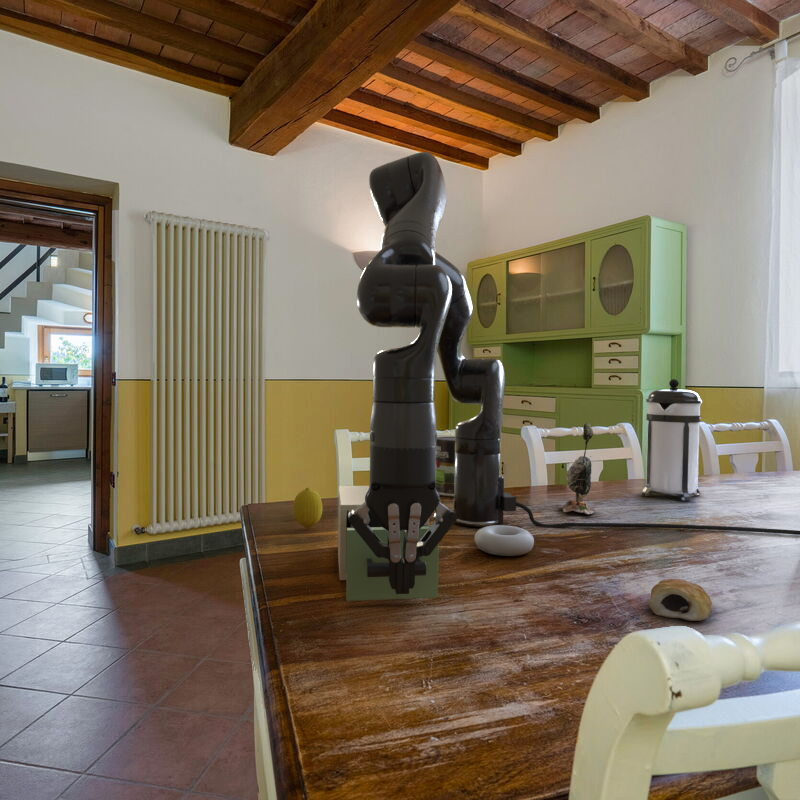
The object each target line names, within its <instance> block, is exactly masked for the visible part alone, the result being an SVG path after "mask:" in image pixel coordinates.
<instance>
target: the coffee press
mask: <svg viewBox="0 0 800 800" xmlns="http://www.w3.org/2000/svg"><path fill="white" fill-rule="evenodd" d="M668 385H669V386H670V388H668V389H663V388H662V389H656V390H652V391H651V392H650V393H649V394H648V396H647V398H646V400H645V402H646V404H647V413H646V419H645V420H646V423H647V424H646V456H645V457H646V460H645V486H644V487H643V489H642V490H641V495H642V496H644V497H649V496H651V495H652V494H653V493H661V494H669V495H677V496H679V497H680V499H681V501H682V502H683V503H684V502H685V503H686V502H688V503H689V502H690V501H691V496H690V494H691V495H692V496H693V497H698V498H699V497H700V496H701V492H700V490H699V488H698V487H699V486H698V485H699V483H698V482H699V454H700V453H699V452H700V451H699V449H700V423H701V422H702V421H701V420H702V419H701V418H702V416H701V405H702V404H703V399H701V397H700V395H699V394H698V393H697V392H695V391H693V390H690V389H679V388H678V386H679V385H680V382H679V381H678V380H677V379H675V378H673V379H671V380H669V383H668ZM648 490H649V491H648ZM647 491H648V492H647ZM646 492H647V493H646ZM695 493H696V494H695Z"/></svg>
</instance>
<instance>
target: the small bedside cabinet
mask: <svg viewBox="0 0 800 800" xmlns="http://www.w3.org/2000/svg"><path fill="white" fill-rule="evenodd" d="M369 486H370V485H338V486H337V487H338V496H337V498H338V501H337V505H338V506H337V508H338V509H337V558H338V573H339V581H346V564H347V528H349V519H348V513H349V511H350V510H353V509H354V510H355V509H357V508H358V507H359V506H360V505H362V504H363V503H364V502H365V496H366V493H367V492H368V490H369ZM426 522H427V524H428V525H429V526H430V518H429V519H428V520H427V521H426Z"/></svg>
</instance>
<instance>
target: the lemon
mask: <svg viewBox="0 0 800 800" xmlns="http://www.w3.org/2000/svg"><path fill="white" fill-rule="evenodd" d="M292 513H293V514H292V515H293V517H294V520H295V521H296V522H297V524H298V525H300V526H301V527H303V528H304V529H306V530H310V529H311V528H312V527H313V526H315V525H316V524H318V523H319V522H320V519H321V518H322V515H323V502H322V499H321V496H320V494H319V493H318V492H317V491H315V490H313V489H311V488H310V487H306V488H305V489H303V490H301V491H300V492H298V493H297V494H296V496H295V497H294V501H293V506H292Z"/></svg>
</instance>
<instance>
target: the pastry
mask: <svg viewBox="0 0 800 800" xmlns="http://www.w3.org/2000/svg"><path fill="white" fill-rule="evenodd" d="M647 603H648V607H649V608H650V609H651V611H652V613H654V615H657V616H661V617H665V618H668V619H669V618H672V619H682V620H685V621H691V622H692V621H693V622H695V621H698V622H702V621H704V620H706V619H708V618H709V616H710V615H711V612H712V604H713V603H712V600H711V596H710V595H709V594H708V593H707V592H706V590H705V589H704V588H703V587H702V585H699V584H697V583H694V582H691V581H688V580H686V579H680V578H669V579H661V580H660V581H658V583H656V584H655V585H654V586H653V587H652V588H651V590H650V598H649V600H648V602H647Z"/></svg>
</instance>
